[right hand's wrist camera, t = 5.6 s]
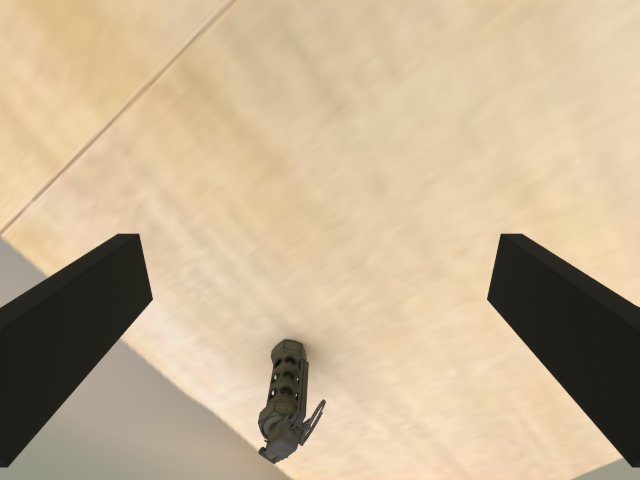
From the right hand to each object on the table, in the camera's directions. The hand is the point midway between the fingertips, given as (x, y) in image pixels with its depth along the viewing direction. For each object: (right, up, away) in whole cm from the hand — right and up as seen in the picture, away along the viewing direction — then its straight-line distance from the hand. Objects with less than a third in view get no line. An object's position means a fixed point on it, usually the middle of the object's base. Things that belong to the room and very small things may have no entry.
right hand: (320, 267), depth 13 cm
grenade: (-3, -15, +36) cm, 39 cm away
